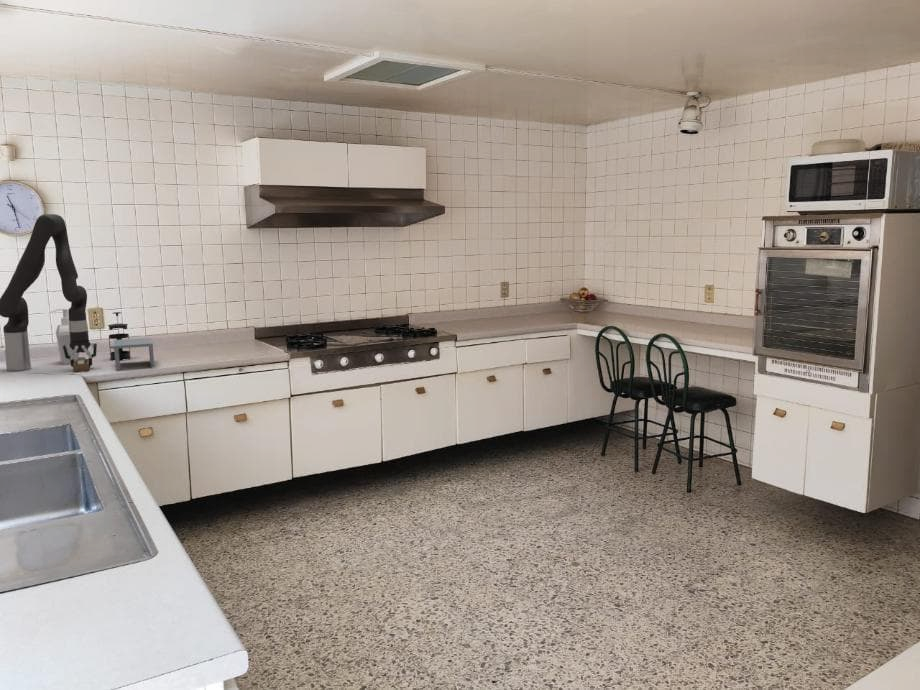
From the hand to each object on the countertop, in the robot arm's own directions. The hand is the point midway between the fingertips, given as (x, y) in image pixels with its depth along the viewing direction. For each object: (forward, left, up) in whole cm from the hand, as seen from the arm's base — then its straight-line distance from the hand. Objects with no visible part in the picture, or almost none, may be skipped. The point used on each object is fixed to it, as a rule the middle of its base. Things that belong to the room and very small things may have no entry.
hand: (81, 366), depth 334 cm
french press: (+16, +22, -1) cm, 27 cm away
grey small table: (+22, -1, -1) cm, 22 cm away
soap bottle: (-7, +22, -1) cm, 23 cm away
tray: (0, 0, -1) cm, 1 cm away
